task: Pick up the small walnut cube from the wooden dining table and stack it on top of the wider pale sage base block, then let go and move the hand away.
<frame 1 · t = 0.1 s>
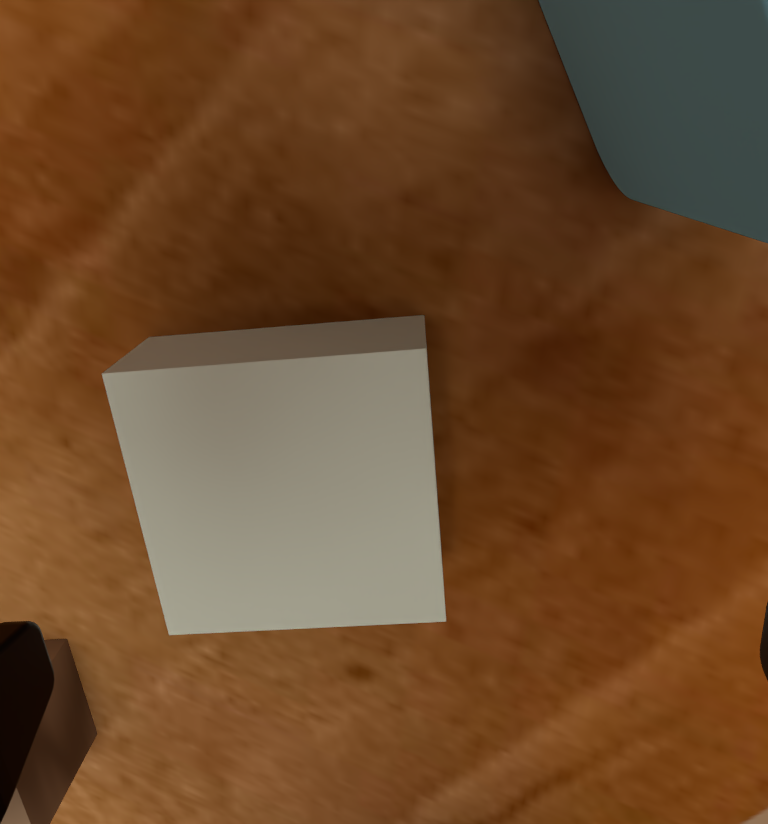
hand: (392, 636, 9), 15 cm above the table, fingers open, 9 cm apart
walnut cube: (25, 688, 29), on the table
base block: (304, 448, 24), on the table
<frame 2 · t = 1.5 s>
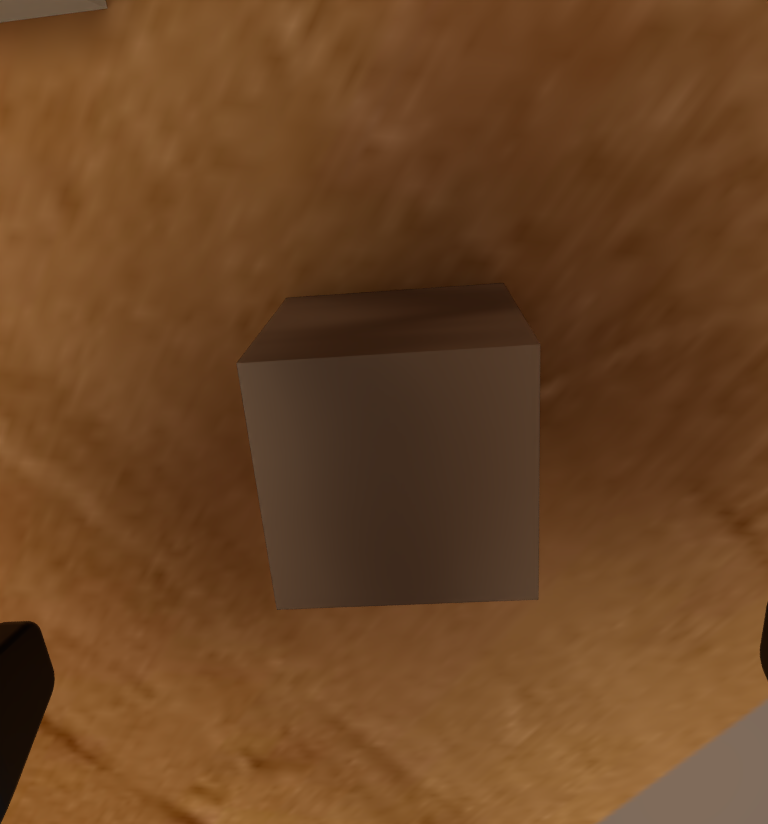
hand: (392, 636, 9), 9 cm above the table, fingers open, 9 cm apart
walnut cube: (401, 391, 17), on the table
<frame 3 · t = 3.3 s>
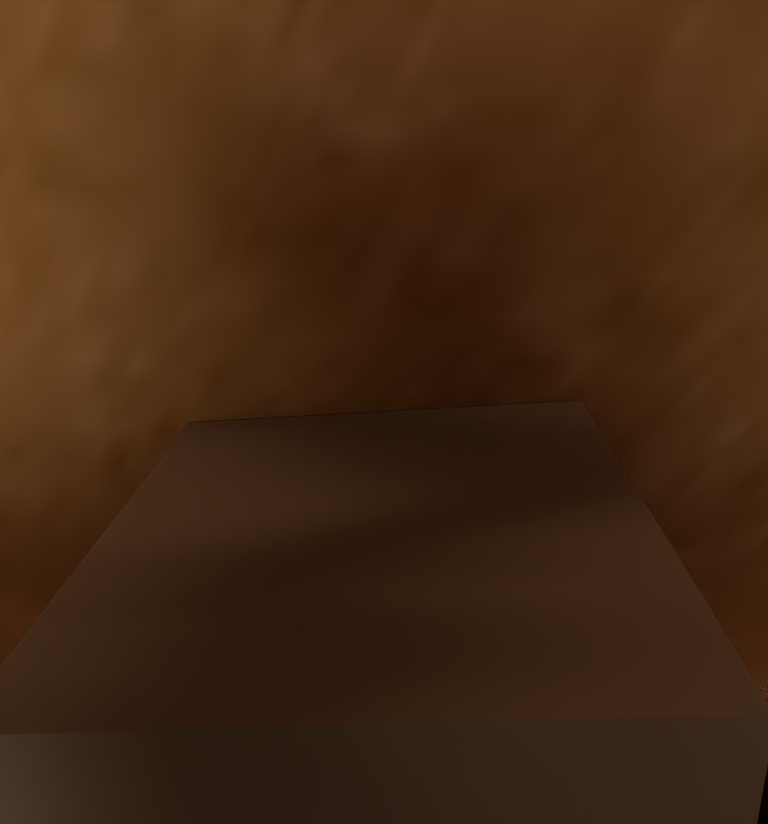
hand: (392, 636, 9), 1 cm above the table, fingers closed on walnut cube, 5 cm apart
walnut cube: (395, 576, 10), on the table, touching gripper
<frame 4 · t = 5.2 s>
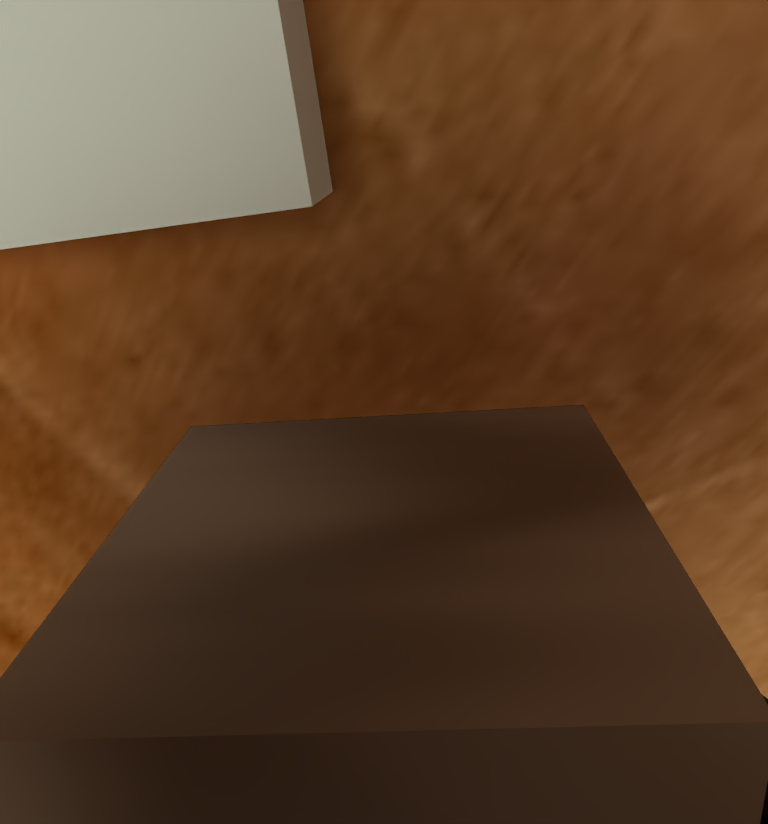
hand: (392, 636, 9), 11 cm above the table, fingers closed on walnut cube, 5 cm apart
walnut cube: (397, 580, 10), point 10 cm above the table, touching gripper
base block: (113, 17, 16), on the table
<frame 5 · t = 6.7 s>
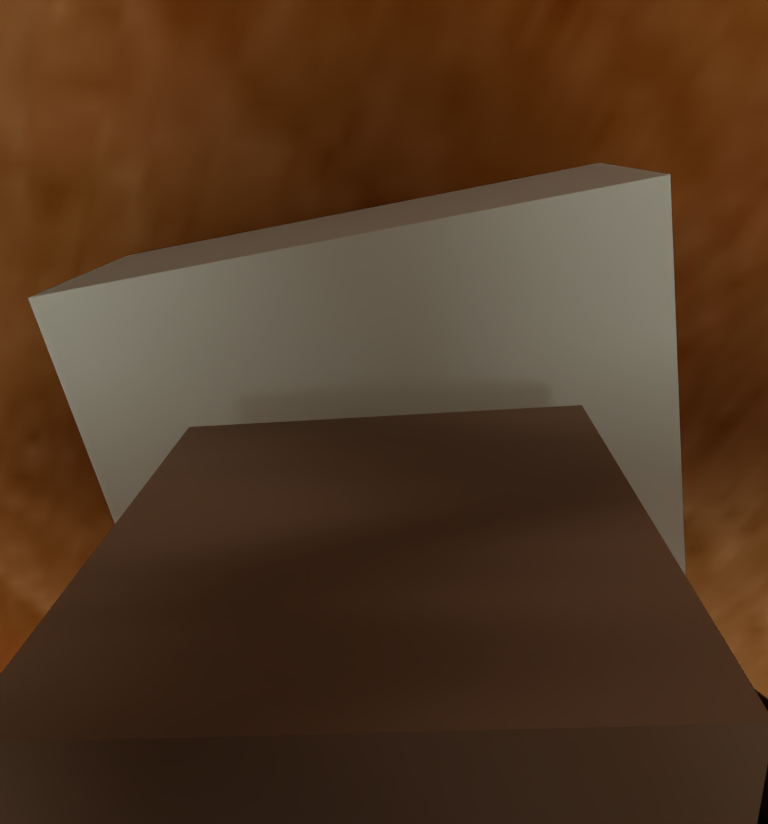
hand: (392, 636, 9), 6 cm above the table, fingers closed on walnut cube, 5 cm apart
walnut cube: (395, 580, 10), point 5 cm above the table, touching gripper
base block: (398, 423, 15), on the table
when the fingers open (6 cm above the table, at t = 7.5 s): walnut cube drops 1 cm, resting on base block.
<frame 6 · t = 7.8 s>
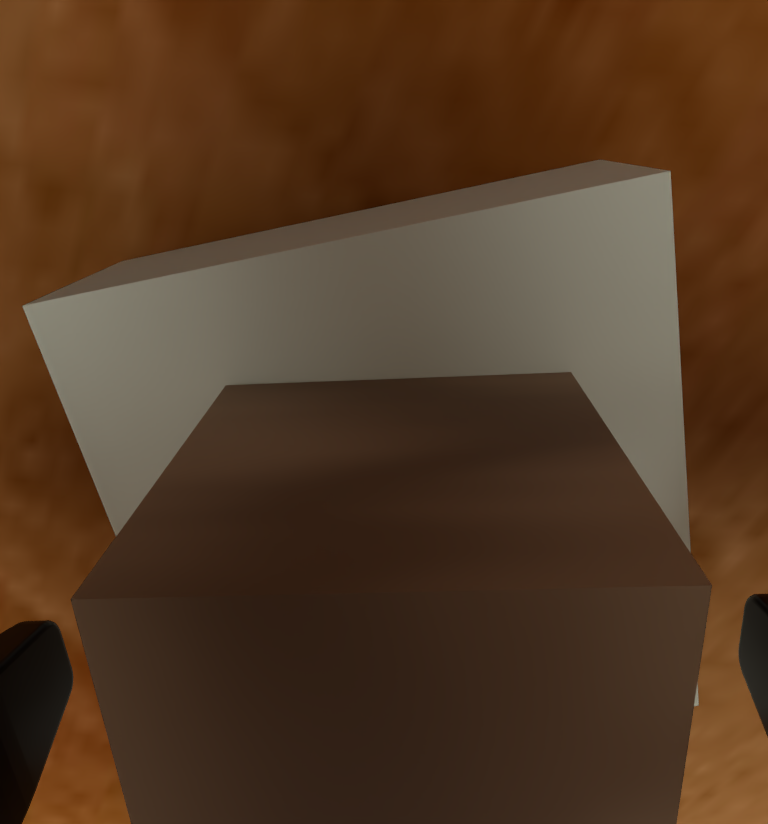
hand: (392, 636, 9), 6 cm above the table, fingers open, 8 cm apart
walnut cube: (403, 527, 11), point 4 cm above the table, touching base block
base block: (399, 425, 15), on the table, touching walnut cube
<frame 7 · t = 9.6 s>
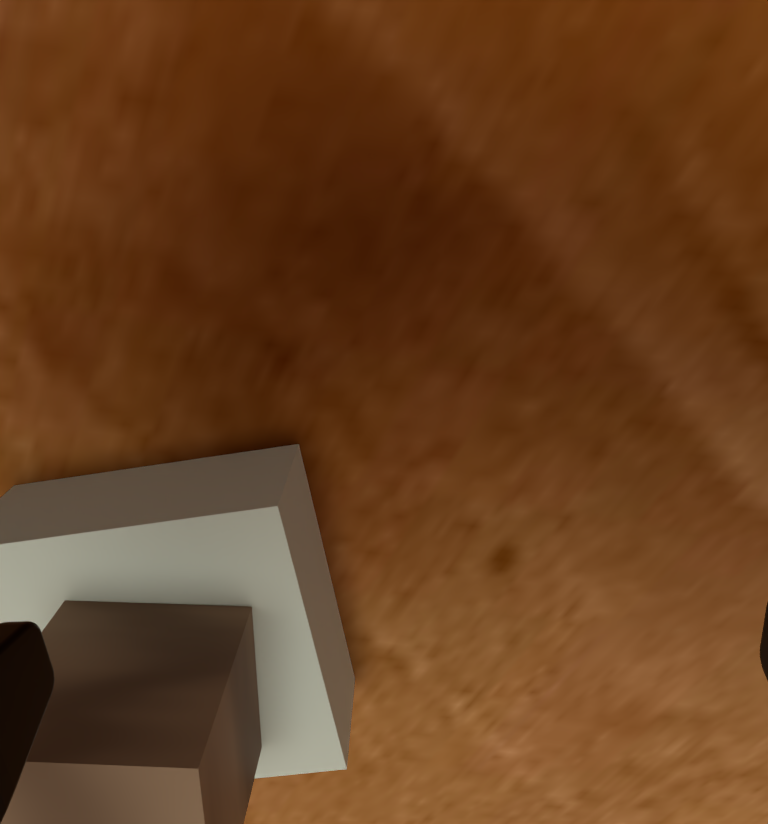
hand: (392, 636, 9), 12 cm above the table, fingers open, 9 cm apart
walnut cube: (167, 677, 19), point 4 cm above the table
base block: (197, 580, 23), on the table
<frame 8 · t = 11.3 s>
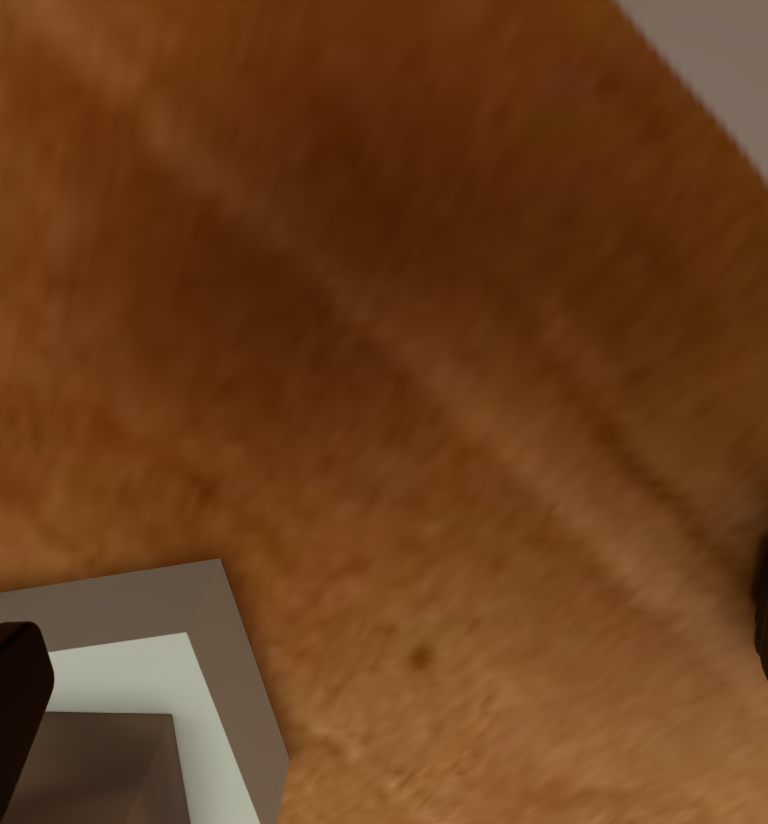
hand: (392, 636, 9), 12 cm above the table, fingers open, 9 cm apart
walnut cube: (102, 774, 21), point 4 cm above the table
base block: (140, 674, 25), on the table
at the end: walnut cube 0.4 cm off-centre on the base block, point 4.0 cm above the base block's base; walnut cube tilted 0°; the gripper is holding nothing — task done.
